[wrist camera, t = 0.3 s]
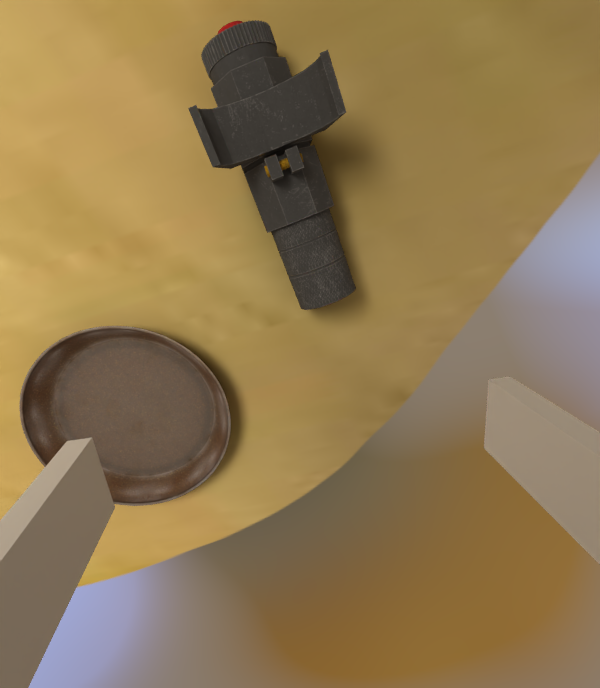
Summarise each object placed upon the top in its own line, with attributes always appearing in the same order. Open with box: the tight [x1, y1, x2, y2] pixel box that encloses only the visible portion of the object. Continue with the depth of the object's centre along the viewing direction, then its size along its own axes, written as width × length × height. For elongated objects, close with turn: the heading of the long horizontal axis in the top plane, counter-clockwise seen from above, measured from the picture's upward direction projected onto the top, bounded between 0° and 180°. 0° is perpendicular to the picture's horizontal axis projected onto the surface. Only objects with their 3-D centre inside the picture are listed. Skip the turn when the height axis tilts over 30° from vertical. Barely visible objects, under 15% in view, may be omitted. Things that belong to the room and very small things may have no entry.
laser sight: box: [188, 20, 356, 310], centre depth 31 cm, size 10×22×10 cm, turn 21°
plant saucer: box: [20, 326, 231, 506], centre depth 40 cm, size 21×21×3 cm
